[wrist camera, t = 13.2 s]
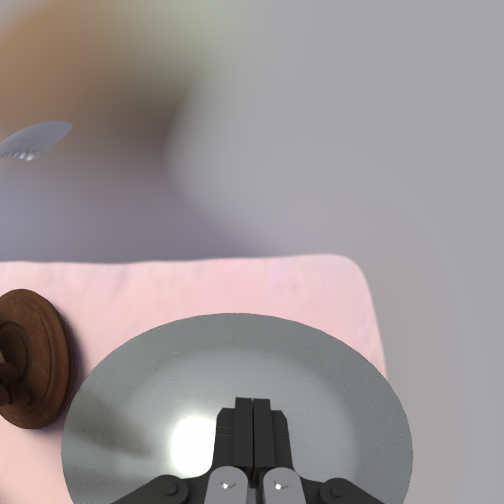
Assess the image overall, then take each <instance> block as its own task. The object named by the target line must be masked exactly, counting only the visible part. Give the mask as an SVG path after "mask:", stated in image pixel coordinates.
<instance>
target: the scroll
mask: <svg viewBox="0 0 504 504" xmlns="http://www.w3.org/2000/svg"><path fill="white" fill-rule="evenodd" d="M76 376H77V374H76V372H75V371H74V359H73V351H72V345H71V341H70V337H69V334H68V331H67V328H66V325H65V323H64V321H63V319H62V317H61V316H60V314H59V312H58V311H57V310H56V308H55V307H54V306H53V305H52V304H51V303H50V302H49V301H48V300H47V299H45V298H44V297H42V296H40V295H39V294H37V293H35V292H33V291H31V290H27V289H16V290H12V291H9V292H7V293H5V294H4V295H2V296H1V297H0V415H1V416H2V417H3V418H5V419H6V420H7V421H8V422H10V423H11V424H13V425H15V426H17V427H20V428H24V429H38V428H43V427H46V426H48V425H50V424H52V423H53V422H54V421H56V420H57V419H58V418H59V416H60V415H61V414H62V412H63V411H64V409H65V407H66V405H67V403H68V400H69V397H70V394H71V390H72V385H73V379H74V378H76Z"/></svg>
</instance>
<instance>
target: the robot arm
mask: <svg viewBox="0 0 504 504" xmlns="http://www.w3.org/2000/svg"><path fill="white" fill-rule="evenodd" d="M248 486H249V488H251V489H255V501H256V504H385V503H383V502H381V501H380V500H378V499H376V498H375V497H373V496H372V495H370V494H368V493H367V492H365V491H364V490H362V489H361V488H359V487H358V486H356V485H355V484H353V483H352V482H350V481H349V480H347V479H344V478H332V479H329V480H327V481H326V482H318V481H313V480H308V479H305V478H303V477H301V476H300V475H298V474H297V472H296V471H295V470H294V467H293V461H292V454H291V446H290V438H289V431H288V423H287V418H286V417H285V415H284V414H283V412H282V411H281V410H271V405H270V399H262V398H253V401H252V398H243V397H235V408H224V407H223V408H222V409H221V411H220V412H219V413H218V415H217V419H216V428H215V437H214V447H213V456H212V464H211V467H210V468H209V470H208V471H207V472H206V473H204V474H203V475H200V476H197V477H191V478H183V479H181V478H179V477H177V476H174V475H169V474H165V475H160V476H158V477H156V478H154V479H153V480H151V481H149V482H148V483H146V484H144V485H143V486H141V487H139V488H138V489H136V490H134V491H133V492H131V493H129V494H127V495H125V496H124V497H122V498H120V499H118V500H116V501H114V502H112V503H111V504H246V496H247V488H248Z"/></svg>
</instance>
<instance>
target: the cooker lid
mask: <svg viewBox="0 0 504 504" xmlns="http://www.w3.org/2000/svg"><path fill="white" fill-rule="evenodd" d="M235 397H243V398H252V401H253V398H262V399H270V405H271V410H281V411H282V412H283V414H284V415H285V417H286V418H287V423H288V431H289V438H290V446H291V454H292V461H293V467H294V470H295V471H296V472H297V474H298V475H300V476H301V477H303V478H305V479H308V480H313V481H318V482H326V481H327V480H329V479H332V478H344V479H347V480H349V481H350V482H352V483H353V484H355V485H356V486H358V487H359V488H361V489H362V490H364V491H365V492H367V493H368V494H370V495H372V496H373V497H375V498H376V499H378V500H380V501H381V502H383V503H385V504H403V501H404V499H405V496H406V493H407V490H408V487H409V483H410V477H411V473H412V460H413V449H412V439H411V432H410V428H409V425H408V421H407V417H406V415H405V412H404V410H403V408H402V406H401V403H400V401H399V399H398V397H397V396H396V394H395V392H394V391H393V389H392V388H391V386H390V385H389V383H388V382H387V380H386V379H385V378H384V377H383V376H382V375H381V373H380V372H379V371H378V370H377V369H376V368H375V367H374V366H373V365H372V364H371V363H370V362H369V361H368V360H367V359H365V358H364V357H363V356H362V355H361V354H360V353H358V352H357V351H355V350H354V349H352V348H351V347H349V346H348V345H347V344H345V343H344V342H342V341H340V340H338V339H336V338H334V337H332V336H330V335H329V334H327V333H325V332H323V331H321V330H318V329H315V328H312V327H310V326H307V325H304V324H301V323H299V322H295V321H291V320H286V319H282V318H278V317H274V316H265V315H257V314H249V313H220V314H211V315H201V316H195V317H190V318H186V319H181V320H177V321H173V322H170V323H167V324H164V325H161V326H159V327H156V328H153V329H150V330H148V331H146V332H144V333H142V334H140V335H138V336H136V337H134V338H132V339H130V340H129V341H127V342H126V343H124V344H123V345H121V346H120V347H118V348H117V349H115V350H114V351H112V352H111V353H110V354H109V355H108V356H107V357H106V358H105V359H103V360H102V361H101V362H100V363H99V364H98V365H97V366H96V367H95V368H94V369H93V371H92V372H91V373H90V374H89V375H88V377H87V378H86V379H85V380H84V382H83V383H82V385H81V386H80V388H79V390H78V391H77V393H76V395H75V397H74V398H73V401H72V403H71V406H70V408H69V411H68V413H67V416H66V420H65V424H64V429H63V434H62V451H61V456H62V465H63V473H64V477H65V481H66V485H67V488H68V492H69V494H70V497H71V499H72V501H73V503H74V504H111V503H112V502H114V501H116V500H118V499H120V498H122V497H124V496H125V495H127V494H129V493H131V492H133V491H134V490H136V489H138V488H139V487H141V486H143V485H144V484H146V483H148V482H149V481H151V480H153V479H154V478H156V477H158V476H160V475H165V474H169V475H174V476H177V477H179V478H181V479H183V478H191V477H197V476H200V475H203V474H204V473H206V472H207V471H208V470H209V468H210V467H211V464H212V456H213V447H214V437H215V428H216V419H217V415H218V413H219V412H220V411H221V409H222V408H223V407H224V408H235ZM246 504H256V501H255V489H251V488H249V486H248V488H247V496H246Z"/></svg>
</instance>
